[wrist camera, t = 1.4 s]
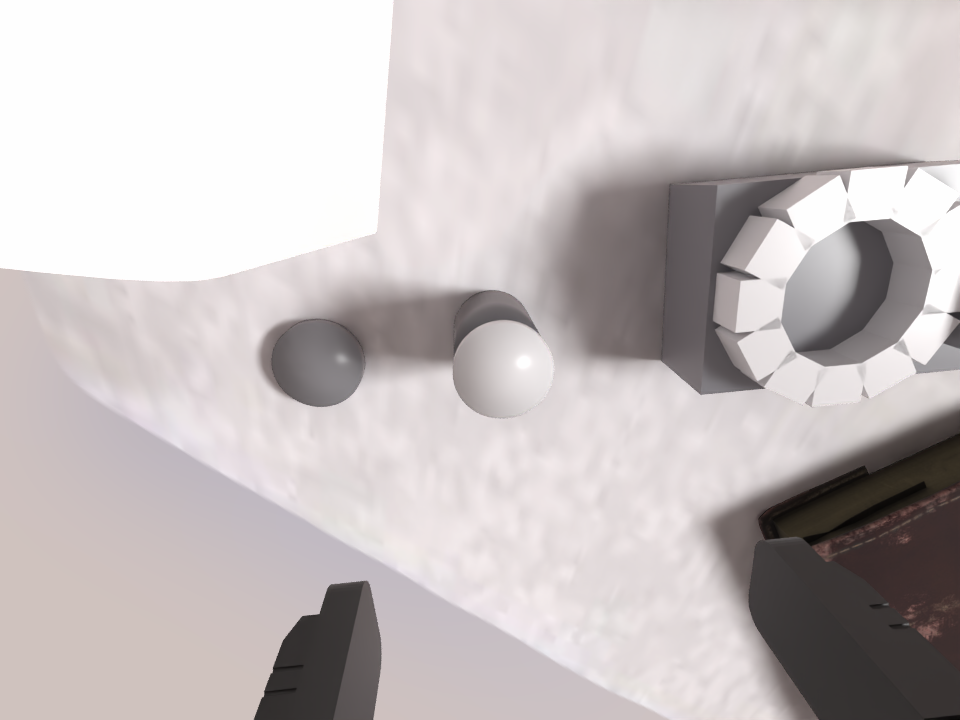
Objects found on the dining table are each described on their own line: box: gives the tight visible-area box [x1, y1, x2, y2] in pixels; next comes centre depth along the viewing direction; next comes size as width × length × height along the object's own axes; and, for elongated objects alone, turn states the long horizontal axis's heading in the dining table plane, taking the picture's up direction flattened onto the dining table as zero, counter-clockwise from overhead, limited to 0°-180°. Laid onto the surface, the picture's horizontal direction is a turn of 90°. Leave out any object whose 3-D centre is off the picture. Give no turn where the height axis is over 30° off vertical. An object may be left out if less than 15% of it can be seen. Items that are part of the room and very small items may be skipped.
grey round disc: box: [272, 319, 365, 407], centre depth 28 cm, size 5×5×1 cm
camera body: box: [661, 160, 960, 407], centre depth 24 cm, size 10×14×9 cm
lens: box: [453, 291, 554, 419], centre depth 25 cm, size 4×4×7 cm
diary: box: [759, 434, 960, 671], centre depth 35 cm, size 19×25×5 cm
